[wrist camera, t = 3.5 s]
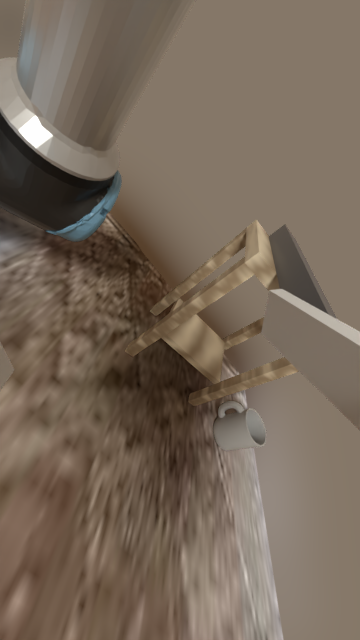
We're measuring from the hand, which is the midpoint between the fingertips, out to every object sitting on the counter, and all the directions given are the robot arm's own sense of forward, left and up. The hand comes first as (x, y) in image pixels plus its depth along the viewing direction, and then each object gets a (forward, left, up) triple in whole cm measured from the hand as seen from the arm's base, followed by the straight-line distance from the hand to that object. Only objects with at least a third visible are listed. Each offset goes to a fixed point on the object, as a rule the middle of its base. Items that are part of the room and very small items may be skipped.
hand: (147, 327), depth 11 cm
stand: (+16, +27, -27) cm, 41 cm away
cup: (+35, +19, -27) cm, 48 cm away
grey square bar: (+11, +21, +3) cm, 24 cm away
